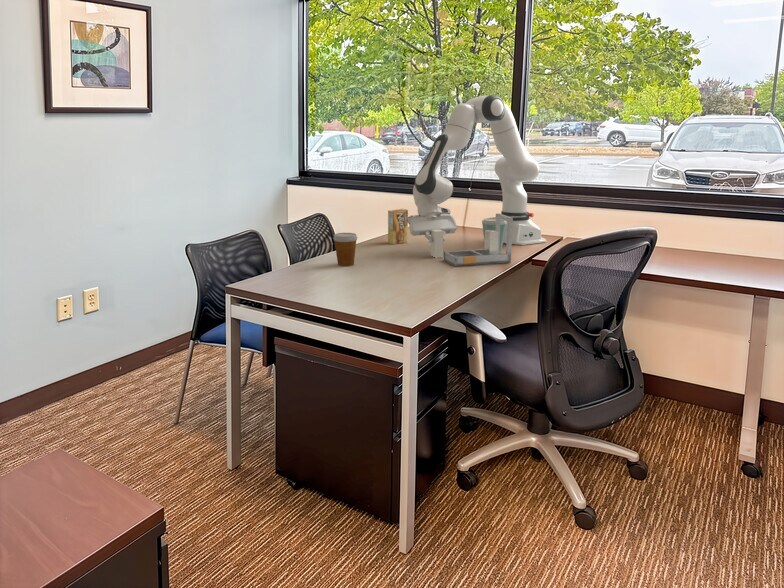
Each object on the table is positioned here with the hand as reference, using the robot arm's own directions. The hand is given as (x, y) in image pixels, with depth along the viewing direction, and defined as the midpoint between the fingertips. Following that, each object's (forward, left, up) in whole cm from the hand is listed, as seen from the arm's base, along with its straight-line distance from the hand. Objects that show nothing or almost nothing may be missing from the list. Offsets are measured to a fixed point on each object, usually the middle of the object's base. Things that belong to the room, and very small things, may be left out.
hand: (437, 241), depth 264 cm
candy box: (+6, -35, -7) cm, 36 cm away
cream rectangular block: (0, -1, -6) cm, 6 cm away
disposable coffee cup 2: (-26, -1, -7) cm, 27 cm away
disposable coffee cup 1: (+40, +3, -7) cm, 40 cm away
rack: (-12, +13, -6) cm, 19 cm away
